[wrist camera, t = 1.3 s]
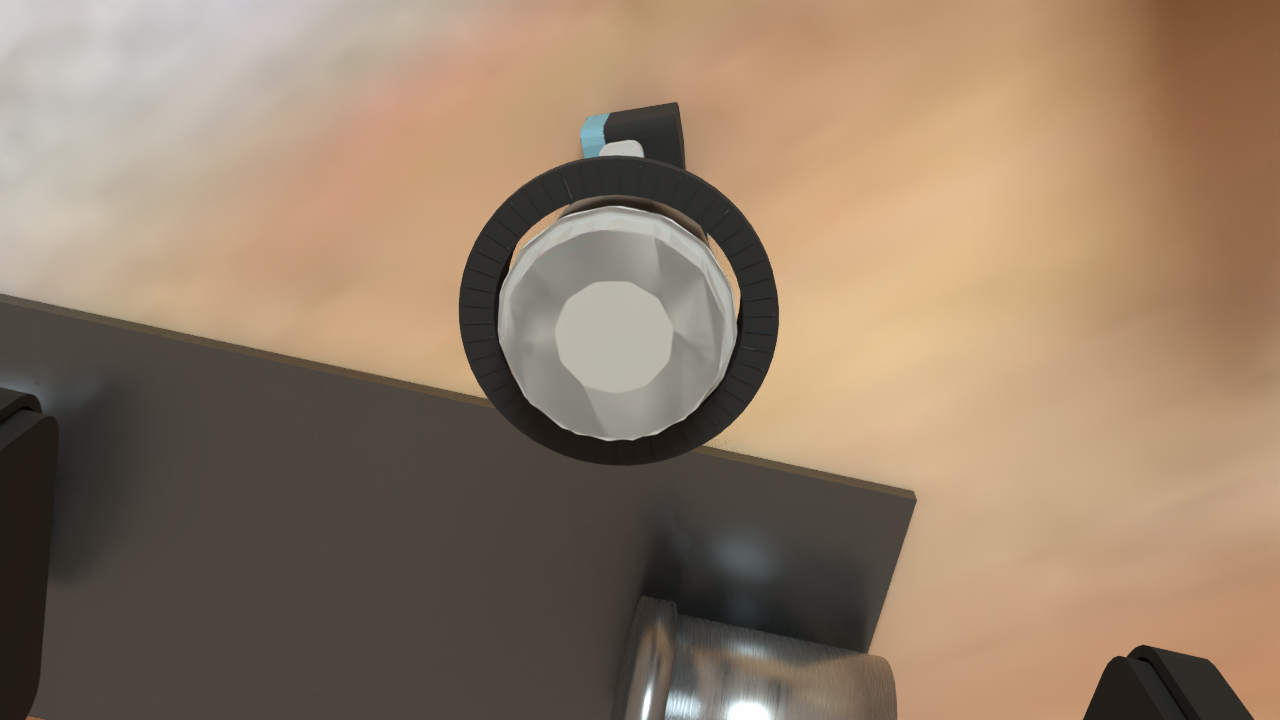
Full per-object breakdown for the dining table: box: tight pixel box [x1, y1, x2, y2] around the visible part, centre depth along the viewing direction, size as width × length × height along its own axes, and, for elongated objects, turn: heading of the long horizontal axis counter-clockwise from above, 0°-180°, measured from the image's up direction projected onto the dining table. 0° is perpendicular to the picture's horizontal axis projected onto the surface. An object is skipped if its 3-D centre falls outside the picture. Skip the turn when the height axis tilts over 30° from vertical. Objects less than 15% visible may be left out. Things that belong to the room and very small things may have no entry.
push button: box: [459, 102, 779, 466], centre depth 24 cm, size 7×5×10 cm
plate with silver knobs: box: [0, 294, 917, 720], centre depth 29 cm, size 28×12×6 cm, turn 78°
